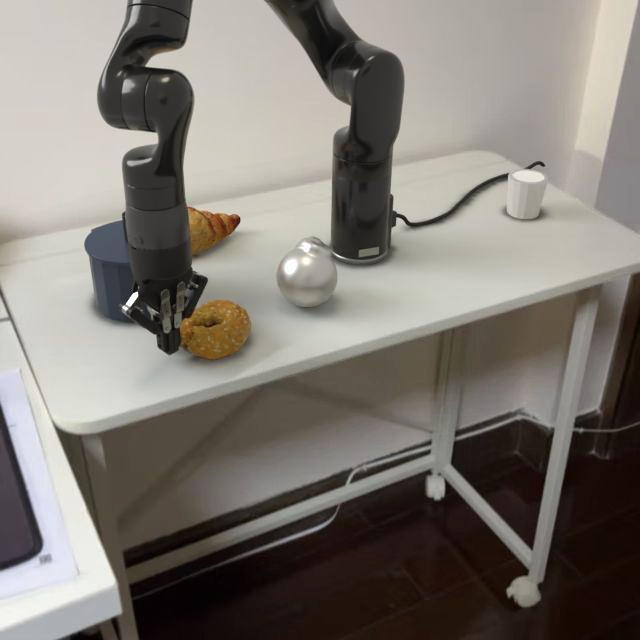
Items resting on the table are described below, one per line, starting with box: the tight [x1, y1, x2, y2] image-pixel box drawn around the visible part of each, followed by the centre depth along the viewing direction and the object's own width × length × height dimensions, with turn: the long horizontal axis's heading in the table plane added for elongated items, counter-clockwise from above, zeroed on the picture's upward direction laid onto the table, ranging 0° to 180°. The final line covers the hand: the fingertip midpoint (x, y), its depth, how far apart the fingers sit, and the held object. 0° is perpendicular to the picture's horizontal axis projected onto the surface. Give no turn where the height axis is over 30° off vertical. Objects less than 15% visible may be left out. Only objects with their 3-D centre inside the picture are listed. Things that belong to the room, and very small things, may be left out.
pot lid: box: [83, 211, 131, 266], centre depth 122 cm, size 14×14×5 cm
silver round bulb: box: [276, 235, 338, 308], centre depth 126 cm, size 9×10×10 cm
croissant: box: [187, 206, 242, 256], centre depth 141 cm, size 21×10×8 cm, turn 123°
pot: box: [88, 224, 152, 324], centre depth 126 cm, size 13×18×10 cm
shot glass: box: [506, 168, 549, 220], centre depth 153 cm, size 7×7×7 cm
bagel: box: [179, 299, 252, 360], centre depth 118 cm, size 10×11×5 cm
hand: (169, 350), depth 114 cm, fingers closed
